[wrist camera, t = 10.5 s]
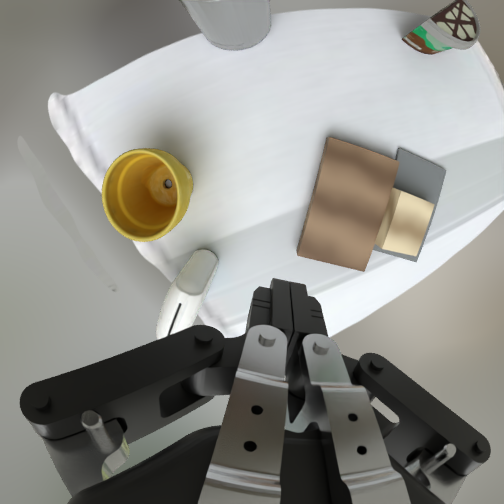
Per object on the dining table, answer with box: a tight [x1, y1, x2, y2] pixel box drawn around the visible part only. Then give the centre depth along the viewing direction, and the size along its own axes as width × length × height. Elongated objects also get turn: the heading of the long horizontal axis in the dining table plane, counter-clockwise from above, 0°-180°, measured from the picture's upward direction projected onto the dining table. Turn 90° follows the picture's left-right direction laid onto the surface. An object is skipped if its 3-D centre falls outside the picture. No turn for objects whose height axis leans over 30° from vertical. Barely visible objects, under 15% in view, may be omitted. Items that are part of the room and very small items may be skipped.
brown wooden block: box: [297, 137, 400, 272], centre depth 34 cm, size 16×10×2 cm, turn 168°
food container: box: [402, 0, 480, 55], centre depth 19 cm, size 12×6×10 cm, turn 137°
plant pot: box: [102, 148, 193, 242], centre depth 31 cm, size 10×10×10 cm
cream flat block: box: [375, 188, 435, 256], centre depth 33 cm, size 8×7×2 cm
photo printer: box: [156, 250, 219, 340], centre depth 35 cm, size 10×4×12 cm, turn 155°
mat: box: [373, 148, 446, 262], centre depth 34 cm, size 15×9×1 cm, turn 168°
